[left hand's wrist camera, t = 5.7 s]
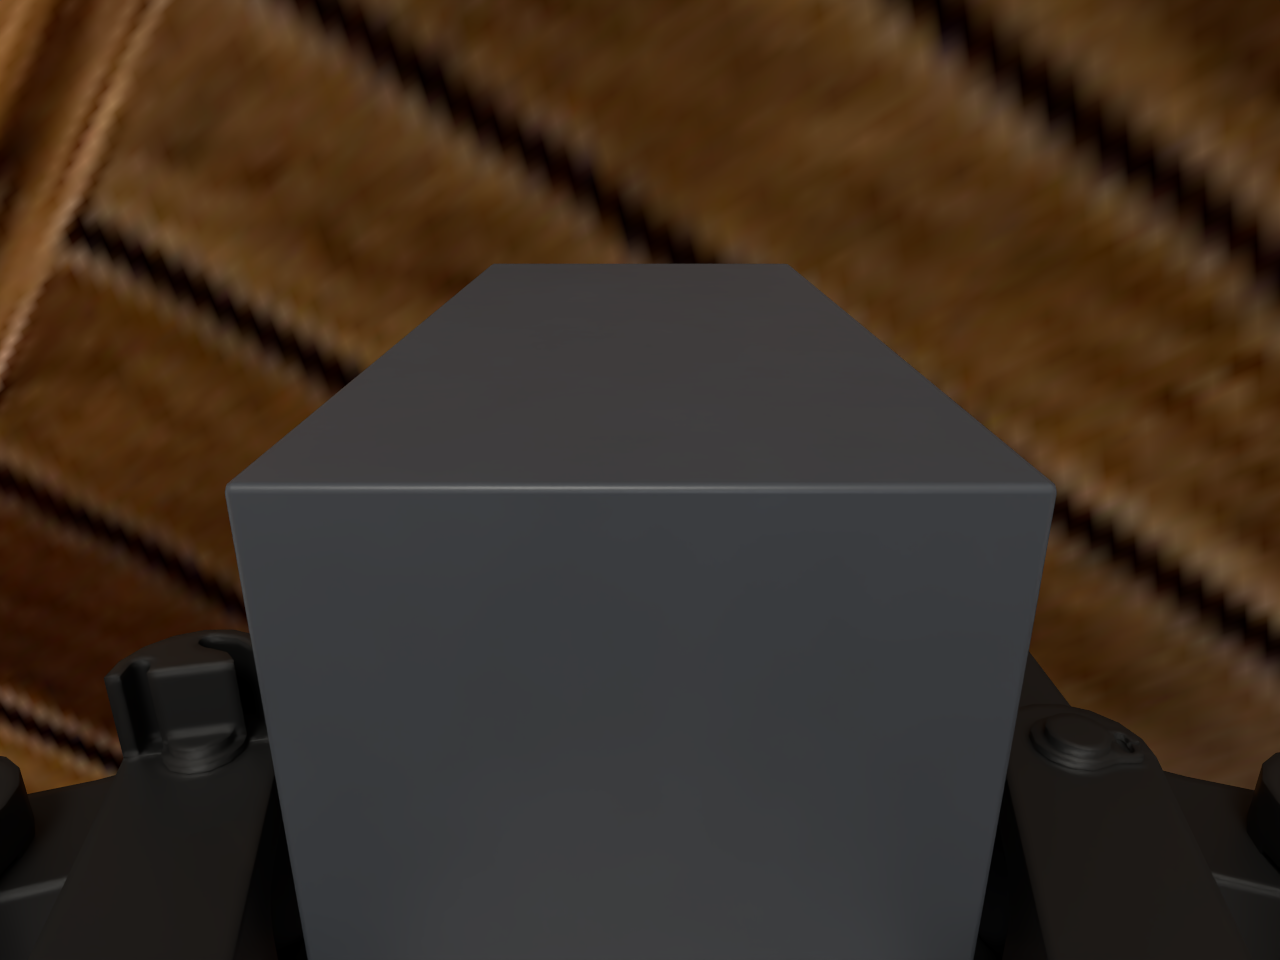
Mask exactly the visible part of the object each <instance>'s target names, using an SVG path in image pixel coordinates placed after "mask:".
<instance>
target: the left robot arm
mask: <svg viewBox="0 0 1280 960" xmlns="http://www.w3.org/2000/svg"><path fill="white" fill-rule="evenodd" d="M104 681H105V685H106V689H107V693H108V697H109V701H110V705H111V709H112V713H113V717H114V721H115V725H116V729H117V733H118V737H119V741H120V745H121V749H122V753H123V757H124V759H123V761H122V763H121V765H120V767H119V770H118V772H117V774H116V775H114V776H111V777H107V778H103V779H99V780H95V781H90V782H85V783H80V784H76V785H71V786H66V787H61V788H56V789H51V790H46V791H41V792H36V793H31V794H27V792H26V788H25V785H24V782H23V778H22V775H21V772H20V768H19V767H18V766H17V765H15V764H14V763H13V762H12V761H10V760H9V759H8V758H7V757H3V756H0V960H308V958H307V953H306V947H305V941H304V936H303V930H302V924H301V919H300V913H299V907H298V902H297V896H296V891H295V885H294V879H293V874H292V868H291V862H290V857H289V851H288V845H287V840H286V834H285V828H284V823H283V817H282V812H281V806H280V800H279V795H278V789H277V783H276V778H275V772H274V766H273V761H272V755H271V749H270V744H269V738H268V733H267V727H266V721H265V716H264V710H263V704H262V699H261V693H260V687H259V682H258V676H257V671H256V665H255V659H254V654H253V648H252V642H251V637H250V633H245V632H241V631H237V630H203V631H198V632H192V633H187V634H182V635H177V636H173V637H170V638H167V639H164V640H162V641H159V642H156V643H153V644H151V645H148V646H145V647H143V648H141V649H140V650H138V651H136V652H135V653H133V654H131V655H130V656H128V657H126V658H124V659H123V660H121V661H119V662H118V664H117V665H116V666H115V667H114V668H113V669H112V670H111V671H110V672H109V673H108V674H107V675H106V676H105V677H104ZM973 960H1280V752H1279V753H1275V754H1274V755H1273V756H1272V757H1270V758H1269V759H1268V760H1267V761H1265V762H1264V763H1263V764H1262V768H1261V771H1260V774H1259V778H1258V781H1257V784H1256V788H1255V790H1250V789H1245V788H1240V787H1235V786H1230V785H1225V784H1220V783H1215V782H1210V781H1205V780H1200V779H1195V778H1190V777H1185V776H1181V775H1178V774H1174V773H1170V772H1166V771H1163V770H1162V768H1161V766H1160V764H1159V762H1158V760H1157V758H1156V756H1155V755H1154V754H1153V752H1152V751H1151V750H1150V749H1149V747H1148V746H1147V745H1146V744H1145V742H1144V741H1143V740H1142V739H1141V738H1140V737H1138V736H1137V735H1135V734H1134V733H1133V732H1131V731H1130V730H1128V729H1127V728H1125V727H1124V726H1122V725H1121V724H1120V723H1118V722H1115V721H1113V720H1111V719H1108V718H1106V717H1104V716H1101V715H1099V714H1097V713H1094V712H1092V711H1089V710H1084V709H1080V708H1075V707H1071V706H1070V705H1069V703H1068V702H1067V701H1066V700H1065V698H1064V697H1063V696H1062V694H1061V693H1060V692H1059V690H1058V689H1057V688H1056V686H1055V685H1054V684H1053V682H1052V681H1051V680H1050V679H1049V677H1048V676H1047V675H1046V673H1045V672H1044V671H1043V669H1042V668H1041V667H1040V665H1039V664H1038V663H1037V661H1036V660H1035V659H1034V658H1033V656H1032V655H1031V654H1030V652H1029V651H1028V656H1027V662H1026V668H1025V673H1024V679H1023V684H1022V690H1021V696H1020V701H1019V707H1018V712H1017V718H1016V724H1015V729H1014V735H1013V741H1012V746H1011V752H1010V757H1009V763H1008V769H1007V774H1006V780H1005V785H1004V791H1003V797H1002V802H1001V808H1000V813H999V819H998V825H997V830H996V836H995V842H994V847H993V853H992V858H991V864H990V870H989V875H988V881H987V886H986V892H985V898H984V903H983V909H982V915H981V920H980V926H979V931H978V937H977V943H976V948H975V954H974V959H973Z"/></svg>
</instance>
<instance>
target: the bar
mask: <svg viewBox="0 0 1280 960" xmlns="http://www.w3.org/2000/svg"><path fill="white" fill-rule="evenodd" d="M225 496H226V501H227V507H228V513H229V518H230V524H231V529H232V535H233V541H234V546H235V552H236V558H237V563H238V569H239V575H240V580H241V586H242V592H243V597H244V603H245V608H246V614H247V620H248V625H249V631H250V637H251V642H252V648H253V654H254V659H255V665H256V671H257V676H258V682H259V687H260V693H261V699H262V704H263V710H264V716H265V721H266V727H267V733H268V738H269V744H270V749H271V755H272V761H273V766H274V772H275V778H276V783H277V789H278V795H279V800H280V806H281V812H282V817H283V823H284V828H285V834H286V840H287V845H288V851H289V857H290V862H291V868H292V874H293V879H294V885H295V891H296V896H297V902H298V907H299V913H300V919H301V924H302V930H303V936H304V941H305V947H306V953H307V958H308V960H973V959H974V954H975V948H976V943H977V937H978V931H979V926H980V920H981V915H982V909H983V903H984V898H985V892H986V886H987V881H988V875H989V870H990V864H991V858H992V853H993V847H994V842H995V836H996V830H997V825H998V819H999V813H1000V808H1001V802H1002V797H1003V791H1004V785H1005V780H1006V774H1007V769H1008V763H1009V757H1010V752H1011V746H1012V741H1013V735H1014V729H1015V724H1016V718H1017V712H1018V707H1019V701H1020V696H1021V690H1022V684H1023V679H1024V673H1025V668H1026V662H1027V656H1028V651H1029V645H1030V639H1031V634H1032V628H1033V623H1034V617H1035V611H1036V606H1037V600H1038V595H1039V589H1040V583H1041V578H1042V572H1043V566H1044V561H1045V555H1046V550H1047V544H1048V538H1049V533H1050V527H1051V522H1052V516H1053V510H1054V505H1055V499H1056V487H1055V484H1054V483H1053V482H1051V481H1050V480H1049V479H1048V478H1047V477H1045V476H1044V475H1043V474H1042V473H1040V472H1039V471H1038V470H1037V469H1036V468H1034V467H1033V466H1032V465H1031V464H1030V463H1028V462H1027V461H1026V460H1025V459H1023V458H1022V457H1021V456H1020V455H1019V454H1017V453H1016V452H1015V451H1014V450H1013V449H1011V448H1010V447H1009V446H1008V445H1006V444H1005V443H1004V442H1003V441H1002V440H1000V439H999V438H998V437H997V436H996V435H994V434H993V433H992V432H991V431H989V430H988V429H987V428H986V427H985V426H983V425H982V424H981V423H980V422H979V421H977V420H976V419H975V418H974V417H972V416H971V415H970V414H969V413H968V412H966V411H965V410H964V409H963V408H962V407H960V406H959V405H958V404H957V403H956V402H954V401H953V400H952V399H951V398H949V397H948V396H947V395H946V394H945V393H943V392H942V391H941V390H940V389H939V388H937V387H936V386H935V385H934V384H932V383H931V382H930V381H929V380H928V379H926V378H925V377H924V376H923V375H922V374H920V373H919V372H918V371H917V370H915V369H914V368H913V367H912V366H911V365H909V364H908V363H907V362H906V361H905V360H903V359H902V358H901V357H900V356H898V355H897V354H896V353H895V352H894V351H892V350H891V349H890V348H889V347H888V346H886V345H885V344H884V343H883V342H882V341H880V340H879V339H878V338H877V337H875V336H874V335H873V334H872V333H871V332H869V331H868V330H867V329H866V328H865V327H863V326H862V325H861V324H860V323H858V322H857V321H856V320H855V319H854V318H852V317H851V316H850V315H849V314H848V313H846V312H845V311H844V310H843V309H841V308H840V307H839V306H838V305H837V304H835V303H834V302H833V301H832V300H831V299H829V298H828V297H827V296H826V295H824V294H823V293H822V292H821V291H820V290H818V289H817V288H816V287H815V286H814V285H812V284H811V283H810V282H809V281H808V280H806V279H805V278H804V277H803V276H801V275H800V274H799V273H798V272H797V271H795V270H794V269H793V268H792V267H791V266H789V265H787V264H493V265H491V266H490V267H489V268H488V269H486V270H485V271H484V272H483V273H481V274H480V275H479V276H478V277H477V278H475V279H474V280H473V281H472V282H471V283H469V284H468V285H467V286H466V287H465V288H463V289H462V290H461V291H460V292H459V293H457V294H456V295H455V296H454V297H452V298H451V299H450V300H449V301H448V302H446V303H445V304H444V305H443V306H442V307H440V308H439V309H438V310H437V311H436V312H434V313H433V314H432V315H431V316H430V317H428V318H427V319H426V320H425V321H423V322H422V323H421V324H420V325H419V326H417V327H416V328H415V329H414V330H413V331H411V332H410V333H409V334H408V335H407V336H405V337H404V338H403V339H402V340H401V341H399V342H398V343H397V344H396V345H394V346H393V347H392V348H391V349H390V350H388V351H387V352H386V353H385V354H384V355H382V356H381V357H380V358H379V359H378V360H376V361H375V362H374V363H373V364H372V365H370V366H369V367H368V368H367V369H366V370H364V371H363V372H362V373H361V374H359V375H358V376H357V377H356V378H355V379H353V380H352V381H351V382H350V383H349V384H347V385H346V386H345V387H344V388H343V389H341V390H340V391H339V392H338V393H337V394H335V395H334V396H333V397H332V398H330V399H329V400H328V401H327V402H326V403H324V404H323V405H322V406H321V407H320V408H318V409H317V410H316V411H315V412H314V413H312V414H311V415H310V416H309V417H308V418H306V419H305V420H304V421H303V422H301V423H300V424H299V425H298V426H297V427H295V428H294V429H293V430H292V431H291V432H289V433H288V434H287V435H286V436H285V437H283V438H282V439H281V440H280V441H279V442H277V443H276V444H275V445H274V446H272V447H271V448H270V449H269V450H268V451H266V452H265V453H264V454H263V455H262V456H260V457H259V458H258V459H257V460H256V461H254V462H253V463H252V464H251V465H250V466H248V467H247V468H246V469H245V470H243V471H242V472H241V473H240V474H239V475H237V476H236V477H235V478H234V479H233V480H231V481H230V482H229V483H228V484H227V486H226V490H225Z"/></svg>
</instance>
